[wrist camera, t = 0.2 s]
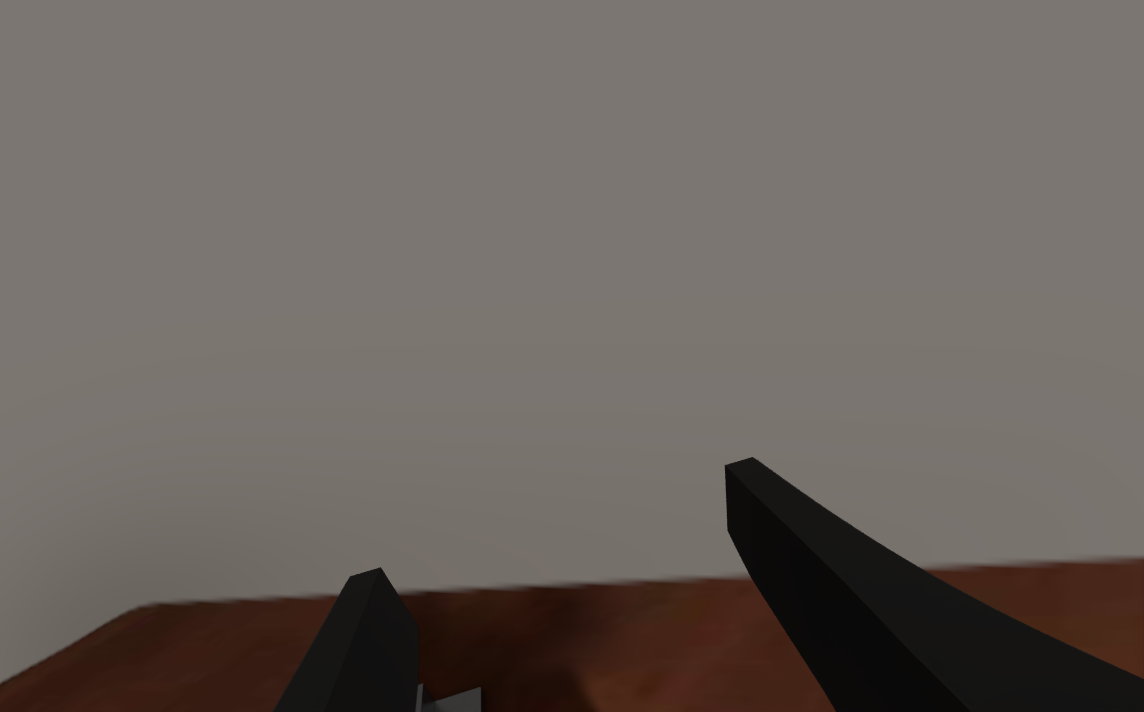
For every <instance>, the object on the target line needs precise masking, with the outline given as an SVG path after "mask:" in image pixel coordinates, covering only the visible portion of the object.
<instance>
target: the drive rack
mask: <svg viewBox="0 0 1144 712" xmlns="http://www.w3.org/2000/svg"><path fill="white" fill-rule="evenodd" d="M415 712H484V692H483V690H482V688H481V687H479V688H476V689H472V690H469V691H466V692H463V693H460V694H457V695H454V696H451V697H447V698H444V699H441V700H438V701H435V700H434V699H433V697H432V696H431V694H430V693H429V691H428V690H427V688H426V687H425V685H424V684H419V685H418V691H417V702H416V711H415Z"/></svg>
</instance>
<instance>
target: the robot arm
mask: <svg viewBox="0 0 1144 712" xmlns="http://www.w3.org/2000/svg"><path fill="white" fill-rule="evenodd" d="M725 479H726V503H727V528H728V532H729V534H730V537H731V539H732V541H733V543H734V545H735V547H736V549H737V551H738V553H739V555H740V557H741V559H742V561H743V563H744V565H745V567H746V568H747V571H748V572H749V574H750V576H751V578H752V580H753V581H754V583H755V584H756V586H757V588H758V589H759V591H760V592H761V594H762V596H763V597H764V599H765V600H766V602H767V603H768V605H769V606H770V608H771V610H772V611H773V613H774V614H775V616H776V617H777V619H778V620H779V622H780V624H781V625H782V627H783V628H784V630H785V631H786V633H787V634H788V636H789V638H790V639H791V641H792V642H793V644H794V645H795V647H796V648H797V650H798V651H799V653H800V655H801V656H802V658H803V659H804V661H805V662H806V664H807V665H808V667H809V668H810V670H811V672H812V673H813V675H814V676H815V678H816V679H817V681H818V682H819V684H820V685H821V687H822V689H823V690H824V692H825V694H826V695H827V697H828V699H829V700H830V702H831V704H832V705H833V707H834V709H835V710H836V712H1144V679H1142V678H1140V677H1138V676H1136V675H1133V674H1131V673H1129V672H1127V671H1125V670H1122V669H1120V668H1118V667H1116V666H1114V665H1112V664H1109V663H1107V662H1105V661H1103V660H1101V659H1099V658H1096V657H1094V656H1092V655H1090V654H1088V653H1086V652H1083V651H1081V650H1079V649H1077V648H1075V647H1073V646H1070V645H1068V644H1066V643H1064V642H1062V641H1060V640H1057V639H1055V638H1053V637H1051V636H1049V635H1047V634H1044V633H1042V632H1040V631H1038V630H1036V629H1034V628H1032V627H1030V626H1028V625H1026V624H1024V623H1022V622H1020V621H1018V620H1016V619H1014V618H1012V617H1010V616H1008V615H1006V614H1004V613H1002V612H1000V611H998V610H996V609H994V608H992V607H990V606H989V605H987V604H985V603H983V602H981V601H979V600H977V599H975V598H974V597H972V596H970V595H968V594H966V593H964V592H962V591H960V590H959V589H957V588H955V587H953V586H951V585H949V584H948V583H946V582H944V581H942V580H941V579H939V578H937V577H935V576H933V575H932V574H930V573H928V572H926V571H925V570H923V569H921V568H920V567H918V566H916V565H914V564H913V563H911V562H909V561H908V560H906V559H904V558H903V557H901V556H899V555H898V554H896V553H894V552H893V551H891V550H889V549H888V548H886V547H885V546H883V545H881V544H880V543H878V542H876V541H875V540H873V539H872V538H870V537H869V536H867V535H865V534H864V533H862V532H861V531H859V530H858V529H856V528H855V527H853V526H852V525H850V524H849V523H847V522H846V521H844V520H842V519H841V518H839V517H838V516H836V515H835V514H833V513H832V512H830V511H829V510H827V509H826V508H824V507H823V506H822V505H820V504H819V503H817V502H815V501H814V500H813V499H811V498H810V497H808V496H807V495H806V494H804V493H803V492H801V491H800V490H799V489H797V488H796V487H794V486H793V485H791V484H790V483H789V482H787V481H786V480H784V479H783V478H782V477H780V476H779V475H777V474H776V473H775V472H773V471H772V470H771V469H769V468H768V467H766V466H765V465H764V464H762V463H761V462H759V461H758V460H756V459H755V458H753V457H751V458H748V459H745V460H741V461H738V462H734V463H731V464H728V465H725ZM417 691H418V625H417V624H416V622H415V620H414V619H413V617H412V616H411V614H410V613H409V611H408V609H407V608H406V606H405V605H404V603H403V602H402V600H401V598H400V597H399V595H398V594H397V592H396V591H395V589H394V587H393V586H392V584H391V583H390V581H389V580H388V578H387V576H386V575H385V573H384V572H383V570H382V569H381V567H380V568H377V569H374V570H370V571H367V572H363V573H360V574H357V575H354V576H350V578H349V579H348V581H347V582H346V584H345V586H344V587H343V589H342V591H341V593H340V594H339V596H338V598H337V600H336V602H335V603H334V605H333V607H332V609H331V610H330V612H329V614H328V616H327V618H326V619H325V621H324V623H323V625H322V627H321V628H320V630H319V632H318V634H317V635H316V637H315V639H314V641H313V643H312V644H311V646H310V648H309V650H308V651H307V653H306V655H305V657H304V659H303V660H302V662H301V664H300V665H299V667H298V669H297V671H296V672H295V674H294V676H293V677H292V679H291V681H290V683H289V684H288V686H287V688H286V689H285V691H284V693H283V695H282V696H281V698H280V700H279V701H278V703H277V705H276V707H275V708H274V710H273V712H415V711H416V702H417Z"/></svg>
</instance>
